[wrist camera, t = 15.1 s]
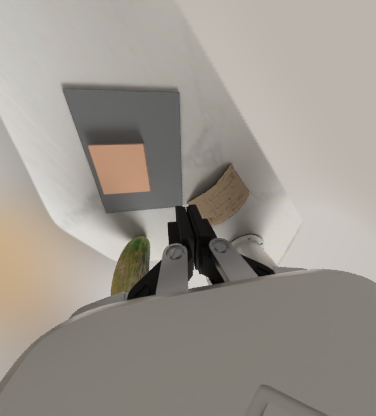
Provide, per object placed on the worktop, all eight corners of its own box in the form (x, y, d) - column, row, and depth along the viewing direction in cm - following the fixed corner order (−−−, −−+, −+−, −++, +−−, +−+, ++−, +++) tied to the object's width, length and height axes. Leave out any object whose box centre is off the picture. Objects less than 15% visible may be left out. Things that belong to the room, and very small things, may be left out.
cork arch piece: (231, 159, 29) (237, 162, 27) (252, 189, 34) (259, 194, 32) (182, 204, 33) (184, 210, 30) (208, 226, 37) (211, 233, 35)
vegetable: (124, 245, 35) (90, 358, 18) (127, 225, 32) (90, 336, 15) (148, 247, 37) (139, 352, 20) (153, 229, 34) (147, 332, 17)
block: (150, 191, 26) (104, 194, 25) (150, 186, 28) (108, 189, 27) (143, 144, 22) (87, 145, 21) (144, 142, 24) (93, 144, 23)
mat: (182, 204, 32) (182, 206, 31) (107, 211, 29) (106, 213, 29) (178, 93, 22) (179, 92, 21) (64, 89, 19) (62, 88, 19)
